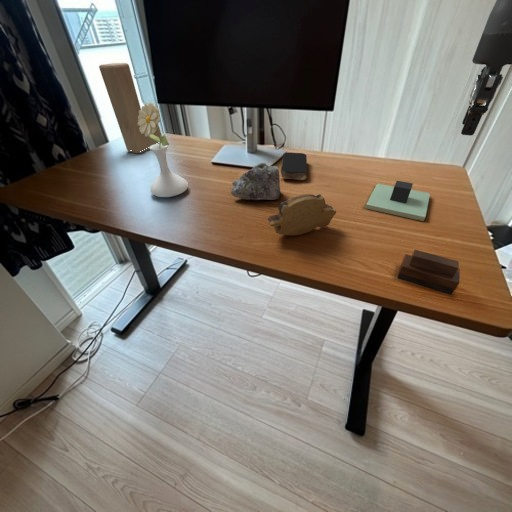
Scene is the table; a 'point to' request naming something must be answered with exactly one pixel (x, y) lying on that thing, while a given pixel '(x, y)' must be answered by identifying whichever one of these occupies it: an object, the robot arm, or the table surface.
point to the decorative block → (126, 106)
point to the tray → (399, 203)
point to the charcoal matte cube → (401, 191)
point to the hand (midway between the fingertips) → (467, 129)
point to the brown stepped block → (430, 271)
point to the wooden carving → (302, 215)
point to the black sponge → (294, 166)
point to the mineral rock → (258, 183)
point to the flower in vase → (160, 154)
